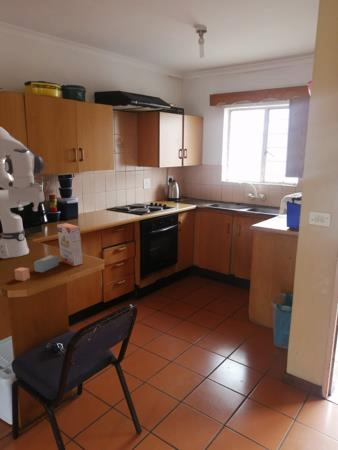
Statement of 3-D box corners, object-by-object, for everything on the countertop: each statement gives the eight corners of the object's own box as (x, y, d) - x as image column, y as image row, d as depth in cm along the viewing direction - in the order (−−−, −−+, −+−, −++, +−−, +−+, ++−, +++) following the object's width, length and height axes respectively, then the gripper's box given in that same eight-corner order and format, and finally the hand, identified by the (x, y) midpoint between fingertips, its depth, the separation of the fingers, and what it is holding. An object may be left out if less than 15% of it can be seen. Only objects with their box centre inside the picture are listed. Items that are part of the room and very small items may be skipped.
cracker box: (60, 261, 191) (56, 224, 187) (70, 259, 196) (66, 222, 191) (73, 267, 182) (69, 228, 177) (83, 264, 186) (79, 225, 181)
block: (15, 279, 166) (14, 269, 165) (22, 276, 170) (20, 266, 169) (23, 280, 164) (22, 270, 163) (29, 278, 168) (28, 267, 167)
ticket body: (34, 271, 177) (33, 261, 176) (51, 264, 188) (50, 254, 187) (42, 272, 175) (41, 262, 174) (58, 264, 186) (57, 255, 185)
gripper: (45, 182, 169) (48, 210, 172) (14, 181, 177) (18, 208, 180) (36, 183, 163) (39, 212, 166) (4, 183, 171) (8, 210, 174)
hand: (28, 210), depth 173 cm, fingers open, 8 cm apart
